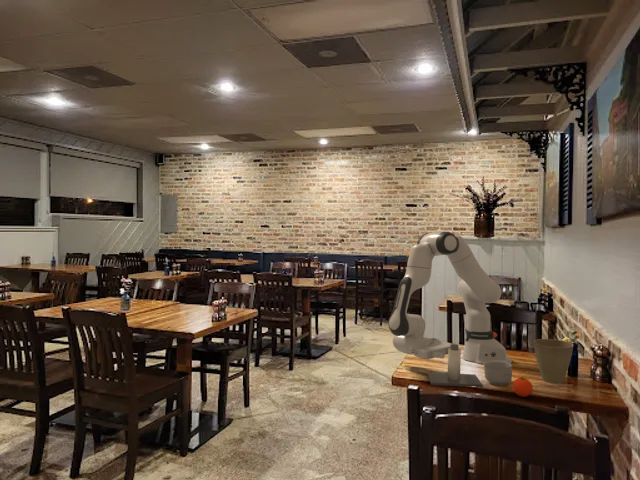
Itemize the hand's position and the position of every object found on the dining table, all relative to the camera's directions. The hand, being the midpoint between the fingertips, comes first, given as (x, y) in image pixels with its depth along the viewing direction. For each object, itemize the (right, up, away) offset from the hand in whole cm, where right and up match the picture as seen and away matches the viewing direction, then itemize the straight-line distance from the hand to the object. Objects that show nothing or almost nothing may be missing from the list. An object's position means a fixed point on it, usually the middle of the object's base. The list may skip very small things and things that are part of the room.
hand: (450, 354), depth 204 cm
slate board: (+1, -11, -1) cm, 11 cm away
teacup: (+19, -11, -2) cm, 22 cm away
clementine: (+22, -11, -19) cm, 31 cm away
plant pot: (+42, -11, 0) cm, 44 cm away
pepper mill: (+1, -10, -1) cm, 10 cm away
